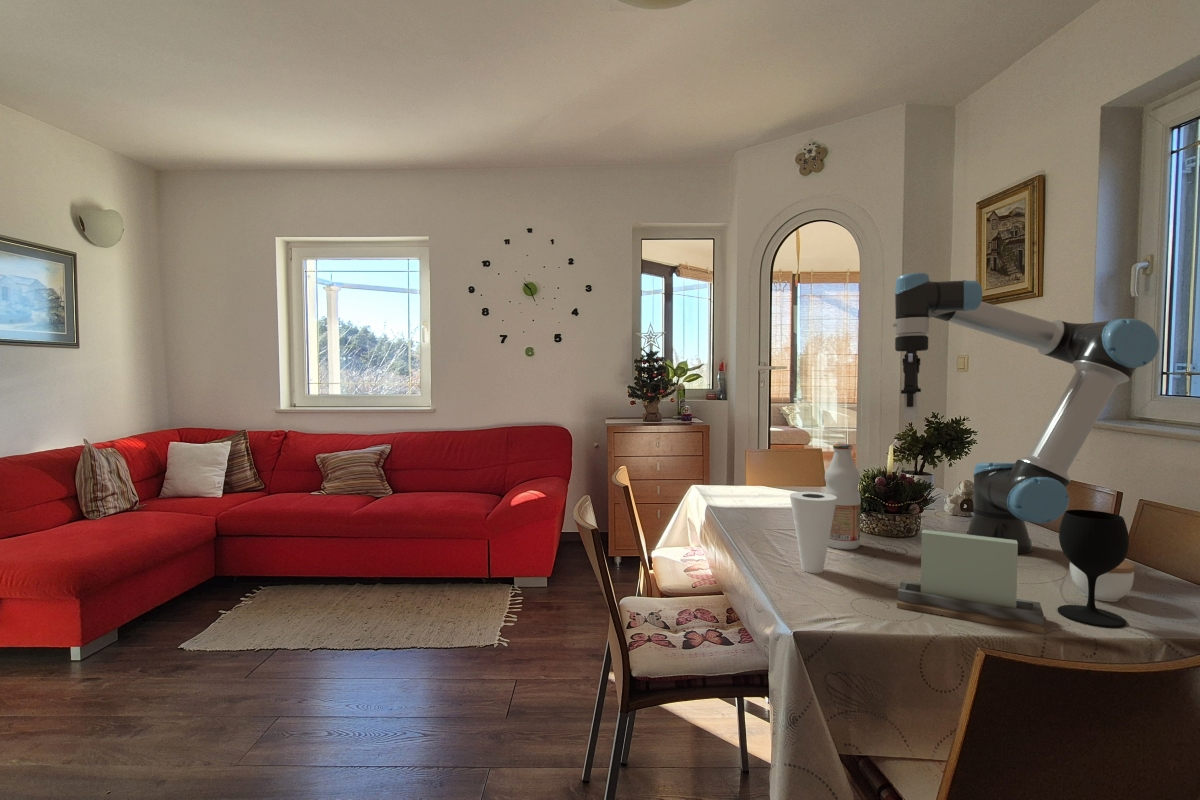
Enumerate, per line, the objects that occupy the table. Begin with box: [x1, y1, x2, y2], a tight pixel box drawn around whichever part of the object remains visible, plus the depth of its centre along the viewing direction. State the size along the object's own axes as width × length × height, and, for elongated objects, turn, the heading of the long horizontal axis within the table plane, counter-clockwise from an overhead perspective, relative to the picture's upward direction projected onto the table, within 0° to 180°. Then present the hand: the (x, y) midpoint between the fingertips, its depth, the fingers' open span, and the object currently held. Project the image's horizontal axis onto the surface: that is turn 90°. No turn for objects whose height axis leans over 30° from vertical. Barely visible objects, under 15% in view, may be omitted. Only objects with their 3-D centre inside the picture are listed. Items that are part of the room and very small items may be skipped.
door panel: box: [920, 529, 1019, 608], centre depth 119 cm, size 16×3×14 cm, turn 58°
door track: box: [896, 580, 1045, 635], centre depth 119 cm, size 24×10×3 cm, turn 58°
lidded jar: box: [1069, 559, 1136, 603], centre depth 127 cm, size 11×11×9 cm
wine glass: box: [1057, 509, 1130, 629], centre depth 116 cm, size 10×10×20 cm
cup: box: [789, 491, 837, 574], centre depth 145 cm, size 11×11×18 cm
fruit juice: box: [823, 443, 862, 550], centre depth 166 cm, size 9×9×28 cm
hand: (911, 418), depth 154 cm, fingers open, 13 cm apart
